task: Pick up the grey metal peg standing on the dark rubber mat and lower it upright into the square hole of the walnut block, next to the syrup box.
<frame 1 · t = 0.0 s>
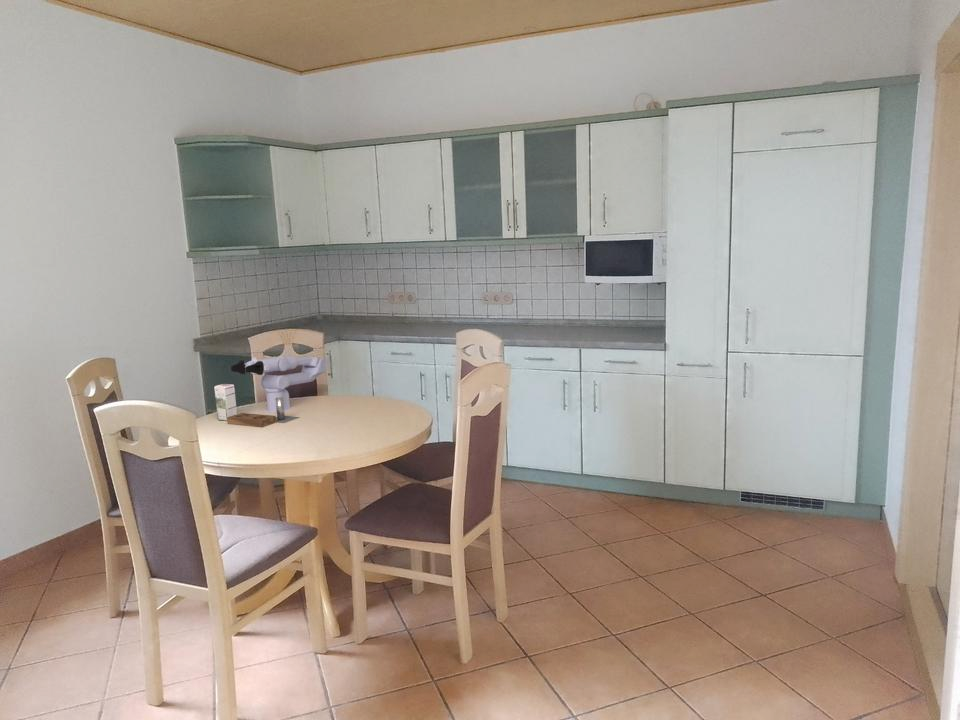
hand: (239, 369, 282), 22 cm above the table, tool horizontal, fingers open, 7 cm apart
peg: (281, 419, 284), resting on rubber mat
walnut hole block: (252, 423, 281), on the table
syrup box: (227, 419, 290), on the table
rubber mat: (282, 419, 285), on the table
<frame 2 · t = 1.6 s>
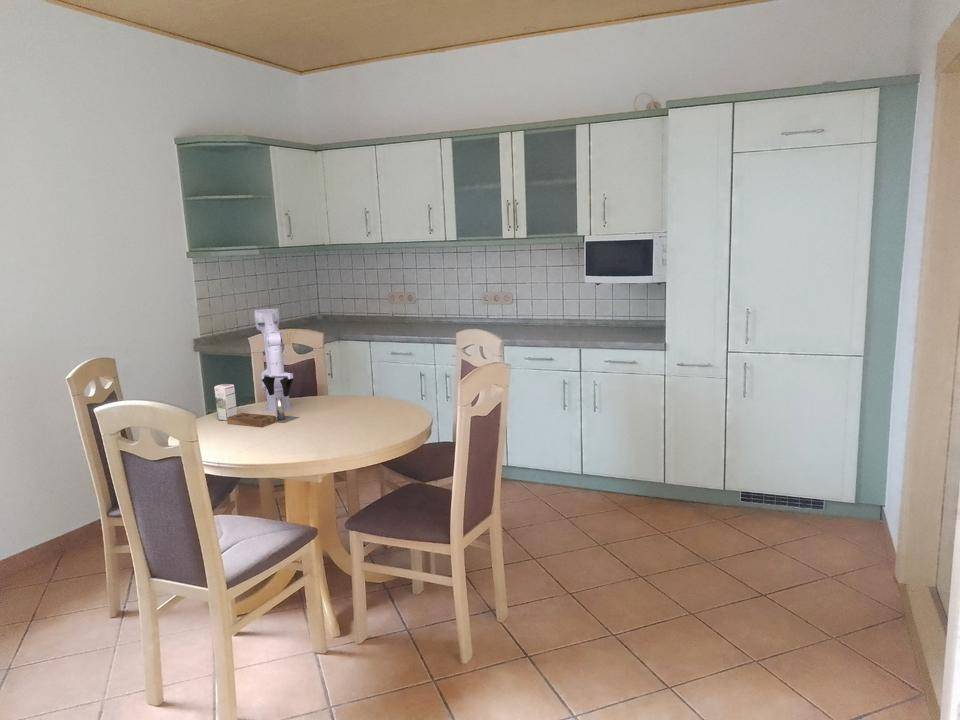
hand: (279, 395, 283), 10 cm above the table, tool pointing down, fingers open, 7 cm apart
nothing on the table moved.
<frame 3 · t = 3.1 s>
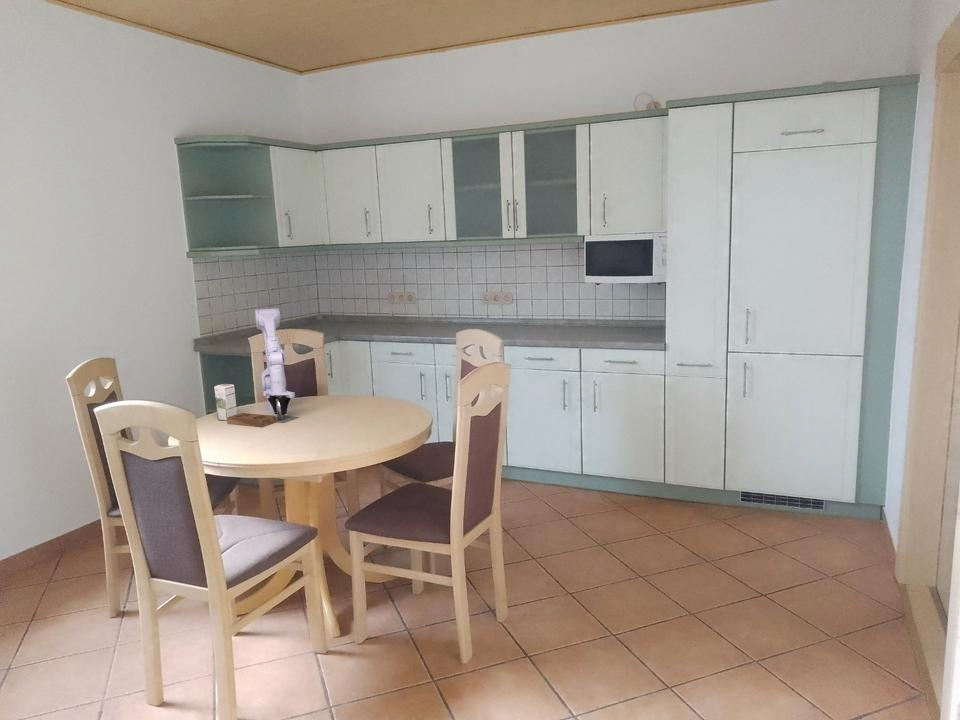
hand: (280, 414, 284), 3 cm above the table, tool pointing down, fingers closed on peg, 3 cm apart
peg: (281, 419, 284), resting on rubber mat, touching gripper
everything else where it was.
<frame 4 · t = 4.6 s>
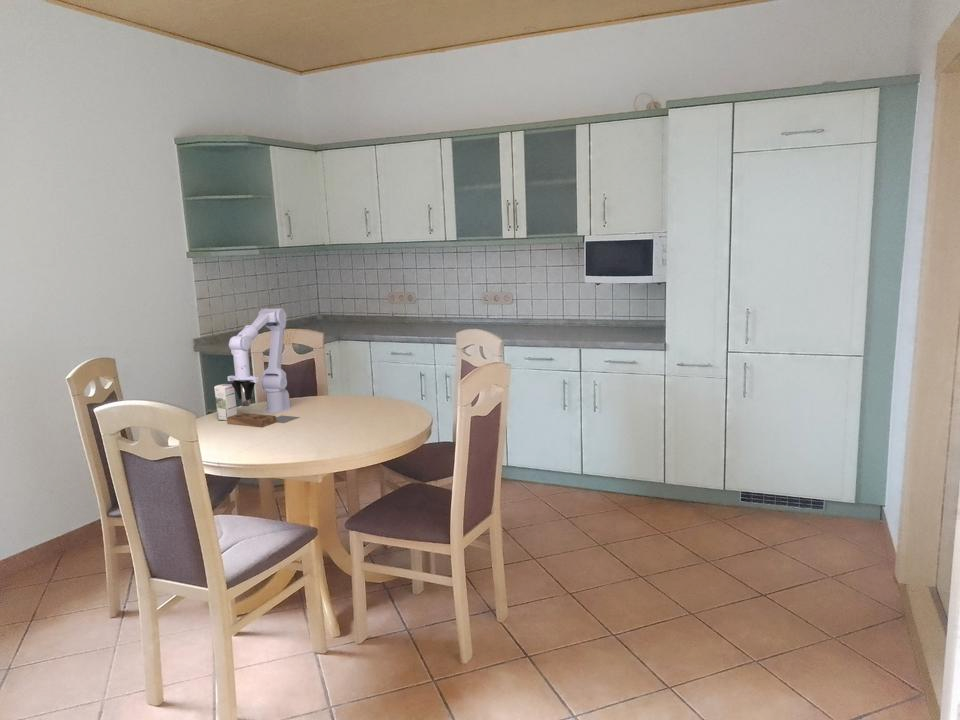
hand: (245, 399, 281), 10 cm above the table, tool pointing down, fingers closed on peg, 3 cm apart
peg: (246, 405, 282), point 7 cm above the table, touching gripper
everything else where it was.
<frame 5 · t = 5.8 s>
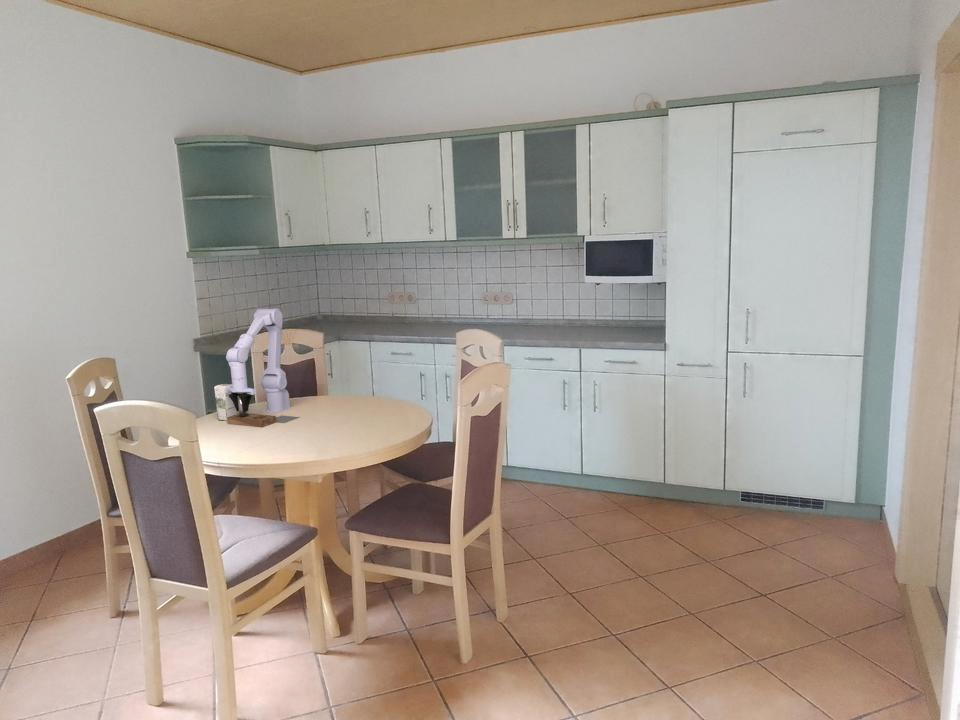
hand: (242, 411, 282), 5 cm above the table, tool pointing down, fingers closed on peg, 3 cm apart
peg: (243, 417, 283), point 2 cm above the table, touching gripper
everything else where it was.
when the fingers open (4 cm above the table, at t = 6.4 s): peg drops 1 cm, resting in walnut hole block.
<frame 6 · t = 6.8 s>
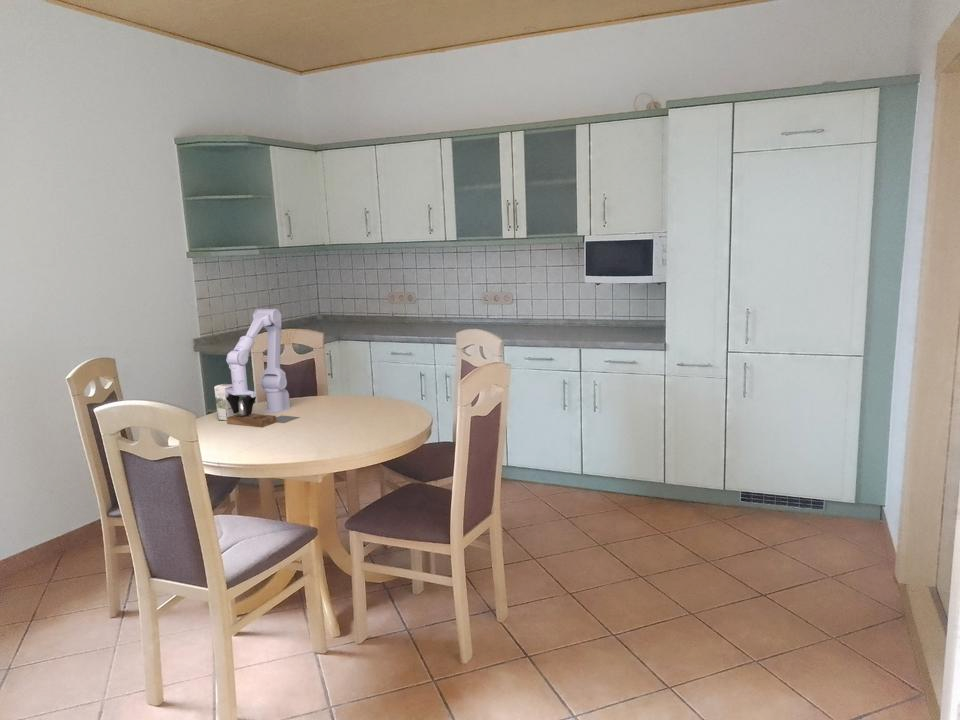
hand: (242, 413, 282), 4 cm above the table, tool pointing down, fingers open, 6 cm apart
peg: (243, 423, 283), resting in walnut hole block
everything else where it was.
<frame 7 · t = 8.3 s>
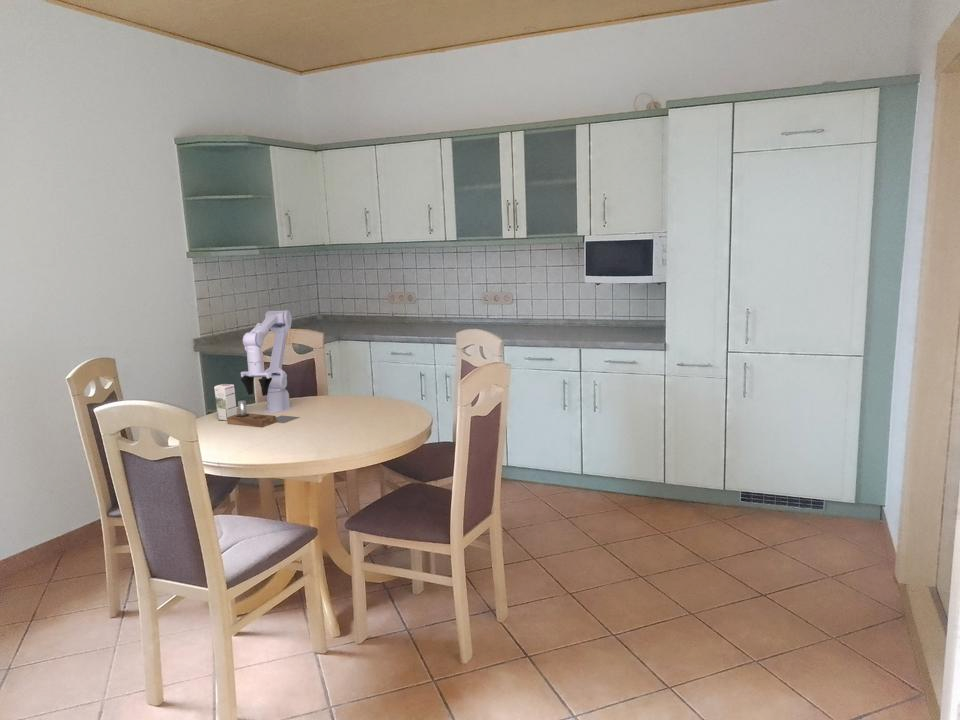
hand: (257, 394, 286), 10 cm above the table, tool pointing down, fingers open, 7 cm apart
nothing on the table moved.
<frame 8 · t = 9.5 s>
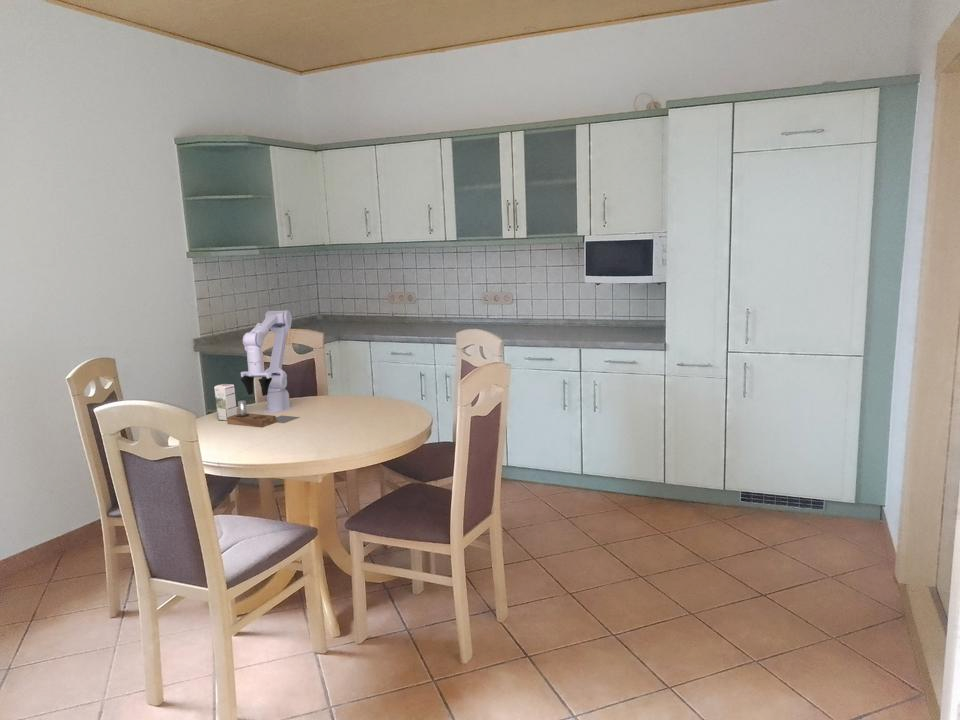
hand: (257, 394, 286), 10 cm above the table, tool pointing down, fingers open, 7 cm apart
nothing on the table moved.
at the end: peg 0.2 cm from the target spot on the walnut hole block, point 0.0 cm above the walnut hole block's base; peg tilted 0°; the gripper is holding nothing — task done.
